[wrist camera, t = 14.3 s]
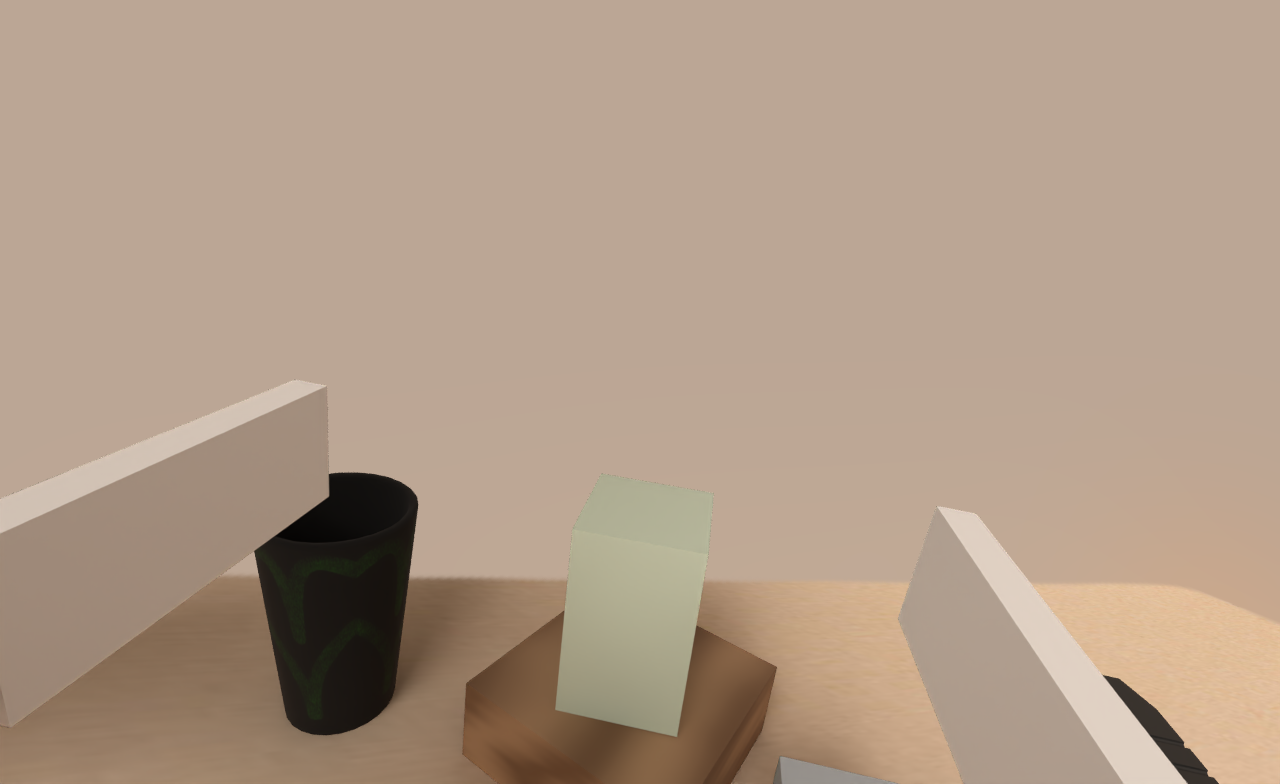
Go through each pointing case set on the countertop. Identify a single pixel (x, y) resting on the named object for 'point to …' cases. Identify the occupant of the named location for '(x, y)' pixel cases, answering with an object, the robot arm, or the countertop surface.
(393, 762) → the countertop surface
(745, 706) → the walnut block
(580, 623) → the sage block
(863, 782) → the grey block
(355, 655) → the cup
